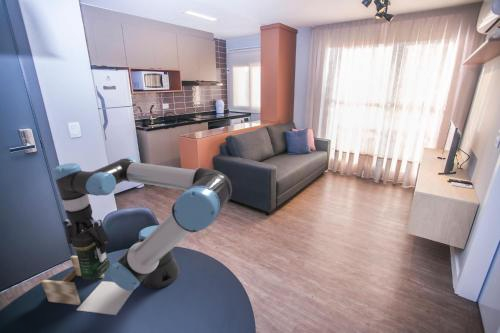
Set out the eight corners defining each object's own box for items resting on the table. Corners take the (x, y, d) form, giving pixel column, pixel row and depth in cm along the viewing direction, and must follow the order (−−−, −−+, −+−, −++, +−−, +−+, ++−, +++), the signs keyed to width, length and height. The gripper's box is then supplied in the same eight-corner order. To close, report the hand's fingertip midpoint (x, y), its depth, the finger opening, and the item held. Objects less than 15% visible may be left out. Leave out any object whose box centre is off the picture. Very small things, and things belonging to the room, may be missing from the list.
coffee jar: (97, 282, 92) (84, 240, 86) (78, 280, 93) (64, 238, 87) (114, 264, 101) (104, 225, 95) (97, 262, 102) (85, 223, 96)
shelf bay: (104, 276, 108) (99, 257, 104) (78, 304, 94) (72, 284, 91) (75, 273, 110) (69, 255, 106) (46, 301, 96) (38, 281, 93)
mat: (137, 284, 103) (137, 284, 103) (116, 315, 90) (115, 314, 90) (102, 281, 105) (102, 281, 105) (76, 310, 92) (76, 309, 92)
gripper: (111, 202, 89) (124, 254, 97) (60, 200, 92) (77, 250, 100) (96, 213, 82) (111, 267, 90) (42, 210, 85) (61, 263, 93)
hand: (93, 258), depth 95 cm, fingers closed on coffee jar, 8 cm apart
